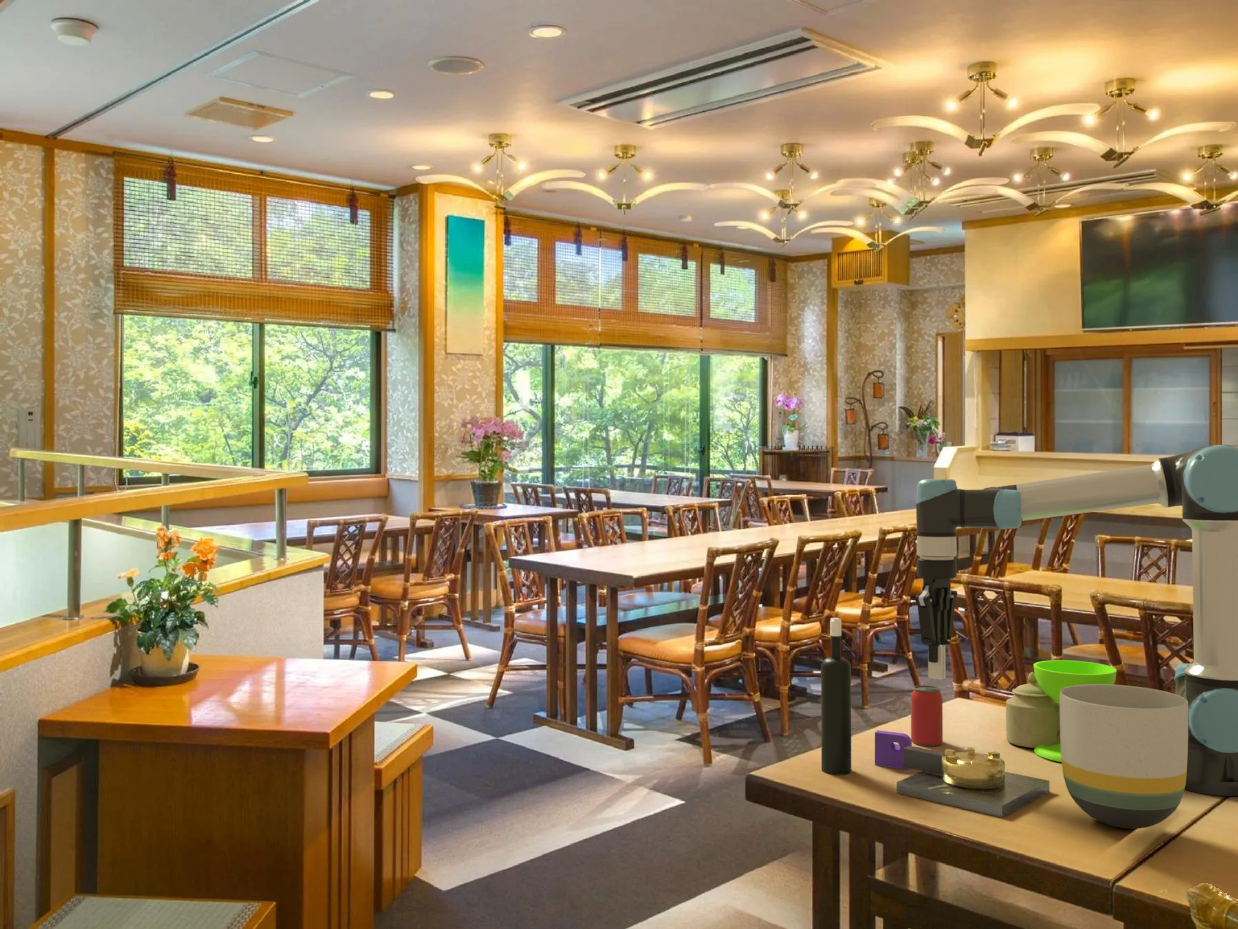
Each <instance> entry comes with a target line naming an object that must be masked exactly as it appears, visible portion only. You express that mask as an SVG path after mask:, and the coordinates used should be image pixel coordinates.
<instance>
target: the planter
mask: <svg viewBox="0 0 1238 929" xmlns="http://www.w3.org/2000/svg"><path fill="white" fill-rule="evenodd" d="M1059 703H1060V741H1061V760H1062V762H1061V768H1062V769H1061V770H1062V776H1063V779H1064V783H1065V786H1066V789H1067V792H1068V793H1069V795H1070V797H1071V798H1072V800H1073V801H1074V802H1075V803H1076V805H1077V806H1078V807H1079V808H1080V809H1081V810H1082V811H1083V812H1084V813H1085V814H1087V815H1088V816H1089V817H1091V818H1092V819H1094V820H1095V821H1098V822H1100V823H1102V824H1105V825H1108V826H1111V827H1115V828H1122V829H1129V830H1130V829H1132V830H1133V829H1134V830H1136V829H1146V828H1149V827H1153V826H1156V825H1158V824H1160V823H1162V822H1164V821H1165V820H1166V819H1168V818H1169V817H1170V816H1171V815H1172V814H1173V813H1174V812H1175V811H1176V810H1177V809H1178V808H1179V806H1180V803H1181V802H1182V799H1183V795H1184V792H1185V790H1184V789H1185V785H1186V776H1187V757H1188V701H1187V700H1186V699H1185V698H1183V697H1181V696H1179V695H1176V693H1172V692H1170V691H1169V692H1168V691H1164V690H1160V689H1155V688H1150V687H1141V686H1133V685H1122V684H1113V685H1107V684H1089V685H1076V686H1070V687H1066V688H1063V689H1061V690H1060V702H1059Z"/></svg>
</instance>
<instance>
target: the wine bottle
mask: <svg viewBox="0 0 1238 929" xmlns="http://www.w3.org/2000/svg"><path fill="white" fill-rule="evenodd" d="M829 624H830V625H829V626H830V627H829V628H830V629H829V635H830V657H826V658H825V659H823V661H822V662H821V664H820V666H821V667H820V671H821V672H820V677H821V678H820V688H821V690H820V693H821V696H820V698H821V699H820V700H821V702H820V704H821V705H820V707H821V708H820V709H821V710H820V711H821V712H820V713H821V714H820V715H821V718H820V719H821V722H820V723H821V724H820V726H821V730H820V731H821V733H820V734H821V743H820V744H821V745H820V747H821V748H820V749H821V750H820V751H821V757H820V758H821V771H822V772H824V773H826V774H830V775H848V774H850V773H851V772H852V666H851V663H850V661H849V660H848V659H846V658H844V657H842V618H839V617H830V621H829Z"/></svg>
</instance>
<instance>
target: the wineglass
mask: <svg viewBox="0 0 1238 929" xmlns="http://www.w3.org/2000/svg"><path fill="white" fill-rule="evenodd" d="M1033 670H1034V671H1033V672H1034V673H1035V677H1036V679H1037V682H1036V683H1037V684H1038V685H1039V686H1040V687H1041V688H1042V690H1043V691H1044V692H1045V693H1046V694H1047V695H1048V696H1050V697H1051V698H1052V699H1054V701H1056V702H1058V703H1060V690H1061V689H1063V688H1066V687H1070V686H1076V685H1089V684H1107V685H1115V682H1116V677H1117V671H1118V670H1117V668H1115V667H1113V666H1111V665H1107V664H1102V663H1097V662H1092V661H1091V662H1090V661H1082V660H1081V661H1080V660H1064V659H1063V660H1061V659H1060V660H1057V659H1056V660H1041V661H1038V662H1037V661H1036V662H1035V663H1033ZM1033 753H1034V754H1035V755H1036V756H1039V757H1041V758H1043V759H1047V760H1051V761H1055V762H1059V763H1062V760H1061V742H1060V743H1059V744H1056V745H1052V746H1043V745H1039V746H1037V747H1035V748H1033Z"/></svg>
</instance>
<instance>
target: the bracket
mask: <svg viewBox="0 0 1238 929" xmlns="http://www.w3.org/2000/svg"><path fill="white" fill-rule="evenodd" d="M912 743H913V742H912V741H911V736H909V735H908V734H906V733H903V732H894V731H888V730H887V731H886V730H876V731H875V732H874V766H878V767H879V766H880V767H887V768H895V769H903V770H910V768H906V767H903V748H905V747H908V746H913V744H912ZM913 747H915V746H913ZM917 747H918V748H921V747H920V746H917Z"/></svg>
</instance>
